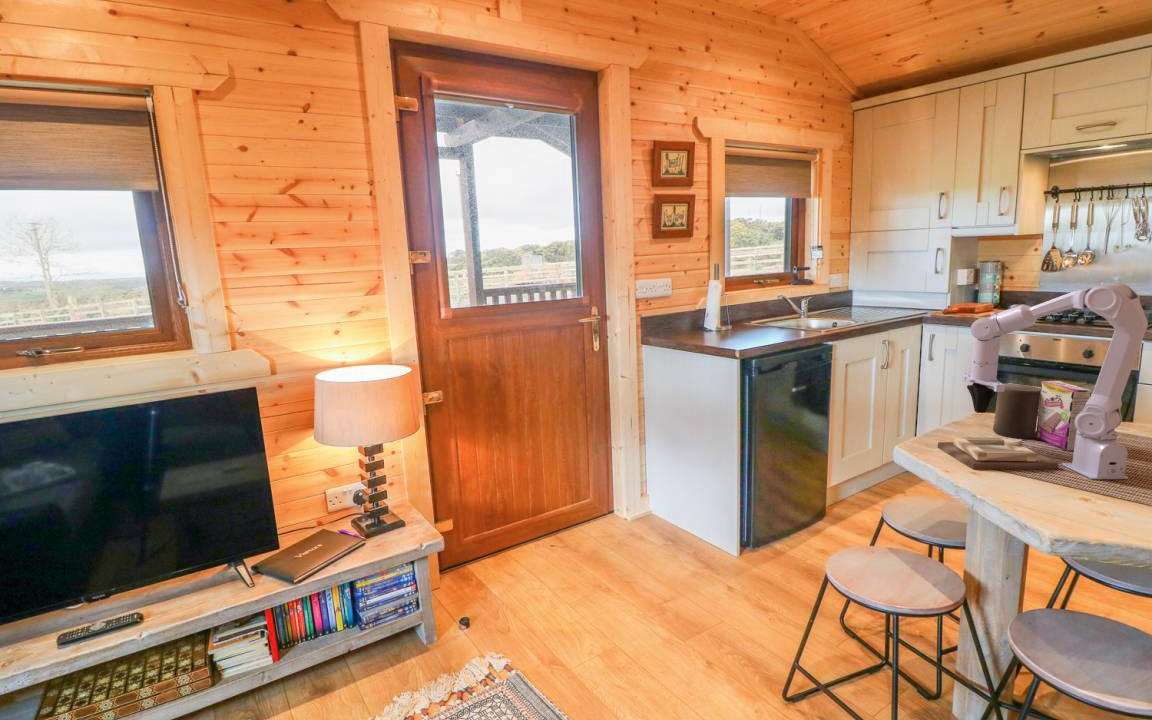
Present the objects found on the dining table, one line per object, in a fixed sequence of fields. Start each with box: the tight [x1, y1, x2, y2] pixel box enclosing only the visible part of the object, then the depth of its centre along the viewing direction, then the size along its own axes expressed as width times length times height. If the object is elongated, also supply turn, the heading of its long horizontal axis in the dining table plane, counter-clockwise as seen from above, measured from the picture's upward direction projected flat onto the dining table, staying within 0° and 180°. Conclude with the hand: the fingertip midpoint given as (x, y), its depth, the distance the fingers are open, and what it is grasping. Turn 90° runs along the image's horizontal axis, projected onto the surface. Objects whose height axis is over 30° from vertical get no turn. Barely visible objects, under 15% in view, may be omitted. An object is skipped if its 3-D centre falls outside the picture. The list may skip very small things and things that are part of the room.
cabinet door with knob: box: [952, 436, 1038, 461], centre depth 148 cm, size 12×13×2 cm
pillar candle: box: [992, 382, 1041, 440], centre depth 166 cm, size 10×10×15 cm
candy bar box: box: [1035, 380, 1093, 452], centre depth 156 cm, size 11×5×16 cm, turn 178°
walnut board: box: [937, 441, 1059, 470], centre depth 149 cm, size 16×20×2 cm
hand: (980, 412), depth 157 cm, fingers closed
